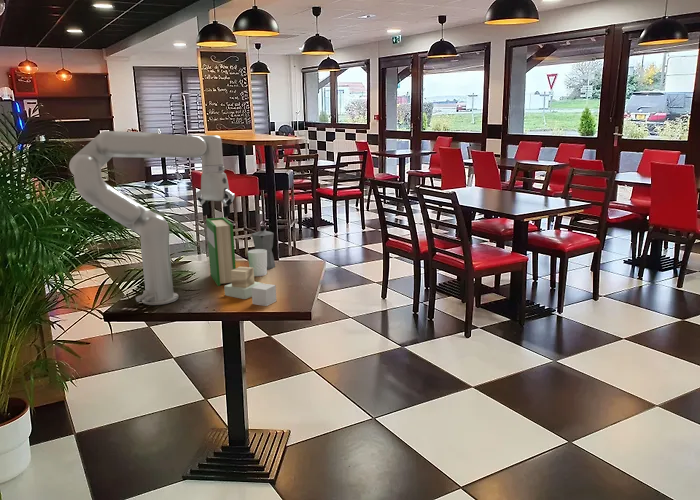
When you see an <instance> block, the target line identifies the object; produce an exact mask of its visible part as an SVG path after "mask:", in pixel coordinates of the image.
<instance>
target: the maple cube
mask: <svg viewBox="0 0 700 500" xmlns="http://www.w3.org/2000/svg"><path fill="white" fill-rule="evenodd" d="M231 280H232V282H231V283H232V287H243V288H247V287H249V286H250V285H252V284H254V281H255V276H254V268H252V267H248V266H238V267H236V268H235V269H233V270H231Z"/></svg>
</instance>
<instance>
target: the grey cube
mask: <svg viewBox="0 0 700 500" xmlns="http://www.w3.org/2000/svg"><path fill="white" fill-rule="evenodd" d="M260 283H261V284H259V285H257V286H255V287H252V297H251V299H252V305H257V306H265V307H268V306H270V305H272V304H273V303H275V302H277V289H276V288H277V287H276V284H271V283H263V282H260Z"/></svg>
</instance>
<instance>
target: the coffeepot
mask: <svg viewBox="0 0 700 500" xmlns="http://www.w3.org/2000/svg"><path fill="white" fill-rule="evenodd" d="M251 235H252V236H251V237H252V241H253V245H254V249H265V250H267V270H270V269H274V268H275V267H276V262H275V258H274V253H273V251H272V249H273V246H274V236H275V233H274V232H272V231H268V230H266V229H265V226H261V227H260V230H259V231H256V232H254V233H253V232H252V234H251Z"/></svg>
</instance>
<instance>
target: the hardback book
mask: <svg viewBox="0 0 700 500" xmlns="http://www.w3.org/2000/svg"><path fill="white" fill-rule="evenodd" d="M205 221H206V232H207V233H206V235H207V245H208V246H207V248H208V257H209V259H208V260H209V270H210V271H209V273H210V277H211V278H212V280H213V282H215V285H217V287H221V285H222V284H231V283H232V280H231V270H233V269H235V268H237V267H236V256H235V255H236V254H235V253H236V252H235V238H234V236H235V235H234V224H233V223H232V222H231V221H230V220H228V218H227V217H224V216H223V217H213V218H212V217H211V218H206V219H205Z"/></svg>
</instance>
